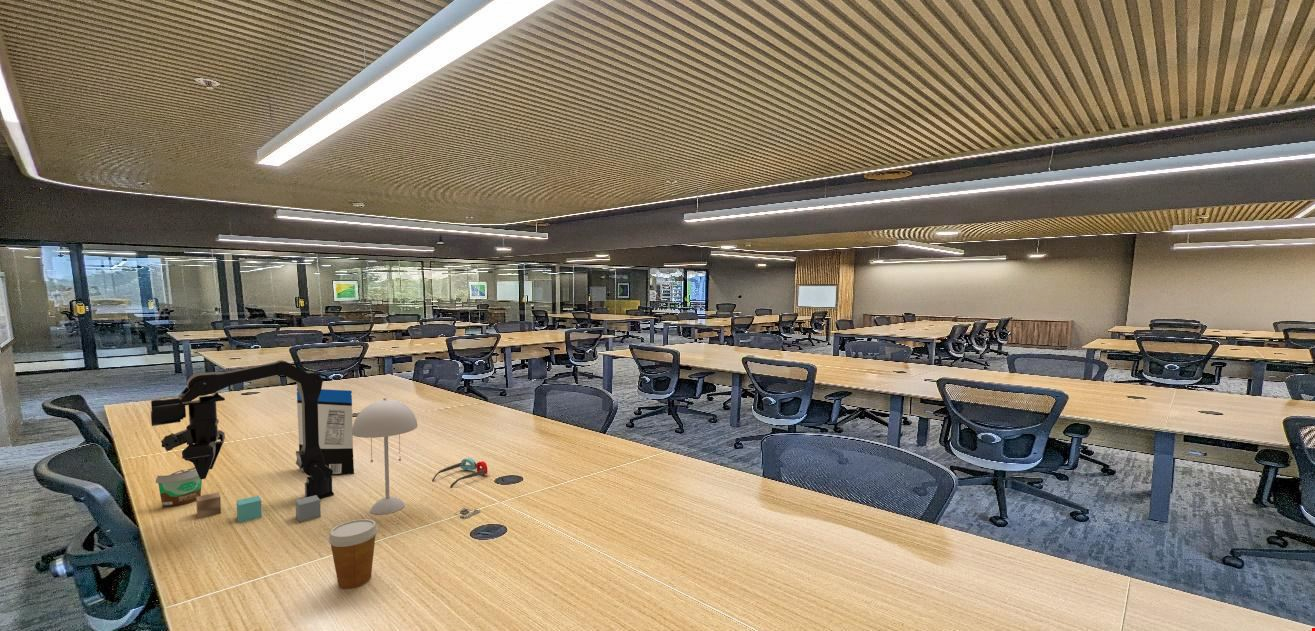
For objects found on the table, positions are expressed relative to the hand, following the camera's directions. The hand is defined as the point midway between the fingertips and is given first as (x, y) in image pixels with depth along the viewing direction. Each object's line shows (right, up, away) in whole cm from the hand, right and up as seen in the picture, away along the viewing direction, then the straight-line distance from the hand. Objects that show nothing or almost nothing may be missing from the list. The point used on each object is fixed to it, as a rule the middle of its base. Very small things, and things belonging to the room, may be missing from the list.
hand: (206, 474), depth 141 cm
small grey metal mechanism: (+74, -14, +6) cm, 76 cm away
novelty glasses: (+57, -13, +35) cm, 68 cm away
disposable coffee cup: (+59, -15, -29) cm, 67 cm away
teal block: (+9, -14, +4) cm, 17 cm away
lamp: (+45, -13, +10) cm, 48 cm away
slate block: (+26, -14, +4) cm, 29 cm away
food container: (-20, -14, +16) cm, 29 cm away
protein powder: (+6, -13, +42) cm, 45 cm away
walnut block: (-6, -14, +7) cm, 16 cm away
